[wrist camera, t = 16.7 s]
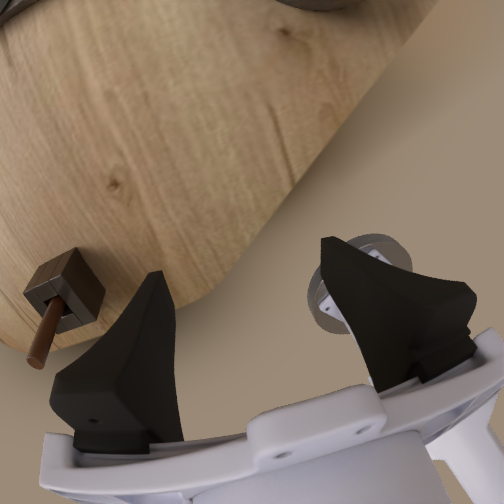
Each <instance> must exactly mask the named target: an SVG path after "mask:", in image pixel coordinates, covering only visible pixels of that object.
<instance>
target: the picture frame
mask: <svg viewBox="0 0 504 504" xmlns="http://www.w3.org/2000/svg"><path fill="white" fill-rule="evenodd" d="M36 1H38V0H0V26H1V25H2V24H4V23H5V22H6V21H8V20H9V19H10V18H12V17H13V16H15V15H16V14H18V13H19V12H21V11H22V10H24V9H25V8H27V7H28V6H30V5H32V4H33V3H35V2H36Z"/></svg>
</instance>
